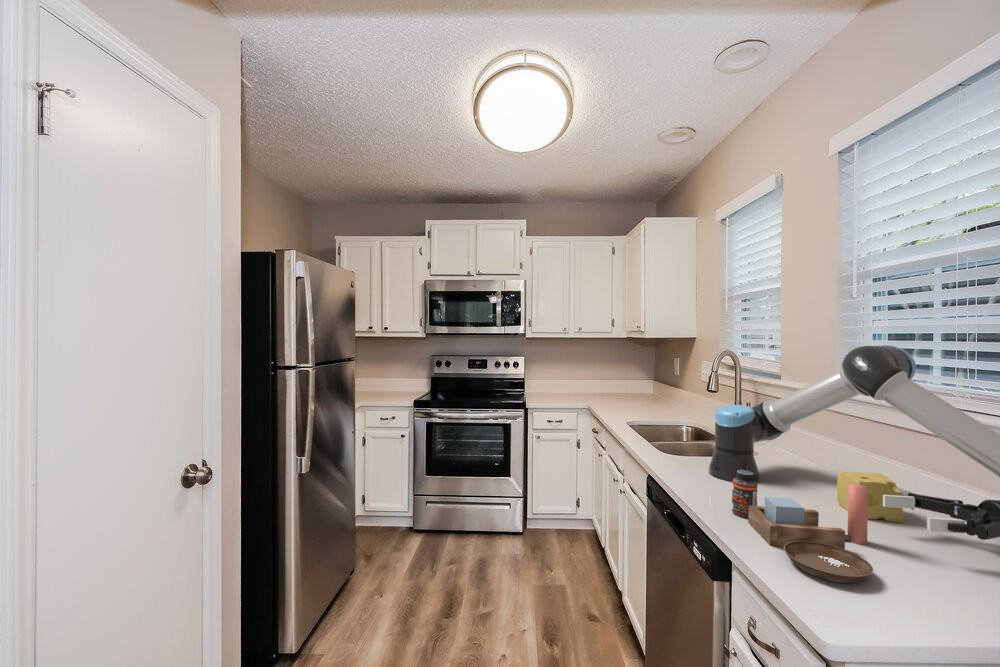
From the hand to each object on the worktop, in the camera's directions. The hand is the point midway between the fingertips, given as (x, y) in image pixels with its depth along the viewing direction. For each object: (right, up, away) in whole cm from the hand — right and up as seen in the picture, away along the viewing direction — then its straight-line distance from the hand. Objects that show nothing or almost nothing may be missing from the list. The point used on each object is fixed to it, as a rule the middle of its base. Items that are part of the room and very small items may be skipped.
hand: (904, 511), depth 103 cm
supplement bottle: (-28, -7, +16) cm, 33 cm away
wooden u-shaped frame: (-23, -7, +4) cm, 24 cm away
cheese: (+7, -8, +18) cm, 21 cm away
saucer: (-26, -8, -11) cm, 29 cm away
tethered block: (-18, -7, +3) cm, 20 cm away
